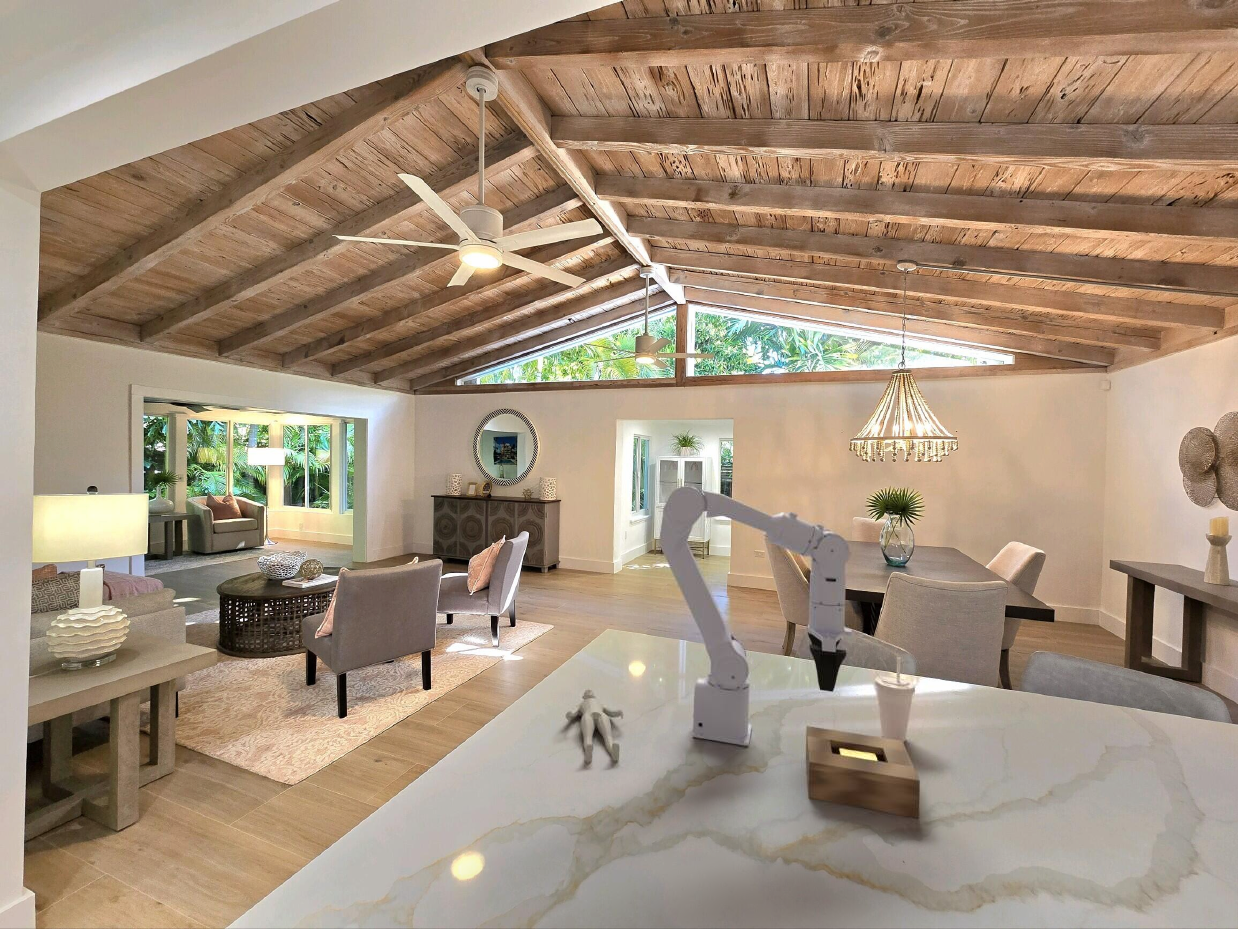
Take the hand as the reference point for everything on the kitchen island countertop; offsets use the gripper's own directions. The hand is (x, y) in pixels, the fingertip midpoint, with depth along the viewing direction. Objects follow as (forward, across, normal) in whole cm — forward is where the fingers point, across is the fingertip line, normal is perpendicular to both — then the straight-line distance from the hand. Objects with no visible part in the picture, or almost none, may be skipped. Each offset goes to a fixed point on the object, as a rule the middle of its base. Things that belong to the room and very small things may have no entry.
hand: (824, 682), depth 95 cm
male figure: (+11, -9, +38) cm, 41 cm away
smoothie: (+11, +7, -12) cm, 17 cm away
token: (+10, -12, -4) cm, 16 cm away
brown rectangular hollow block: (+10, -12, -4) cm, 16 cm away
